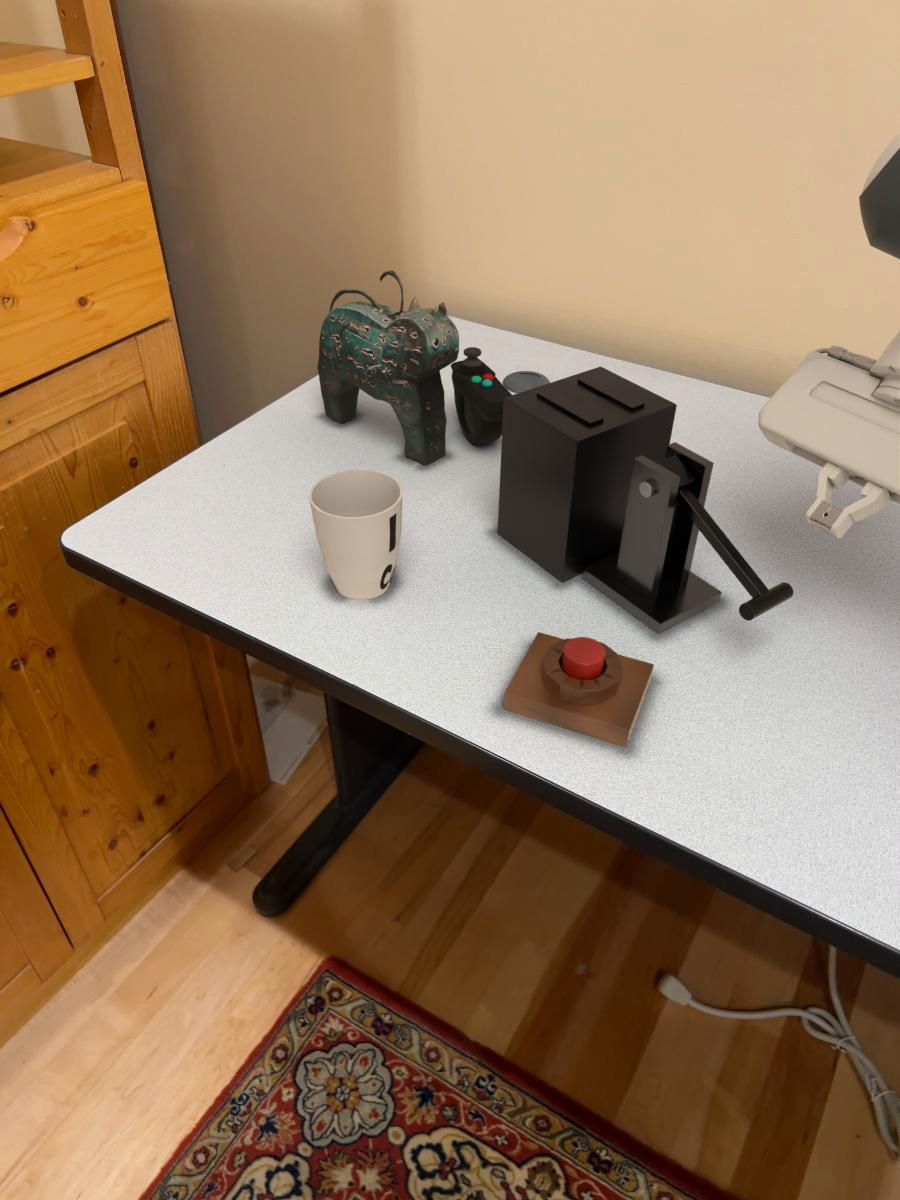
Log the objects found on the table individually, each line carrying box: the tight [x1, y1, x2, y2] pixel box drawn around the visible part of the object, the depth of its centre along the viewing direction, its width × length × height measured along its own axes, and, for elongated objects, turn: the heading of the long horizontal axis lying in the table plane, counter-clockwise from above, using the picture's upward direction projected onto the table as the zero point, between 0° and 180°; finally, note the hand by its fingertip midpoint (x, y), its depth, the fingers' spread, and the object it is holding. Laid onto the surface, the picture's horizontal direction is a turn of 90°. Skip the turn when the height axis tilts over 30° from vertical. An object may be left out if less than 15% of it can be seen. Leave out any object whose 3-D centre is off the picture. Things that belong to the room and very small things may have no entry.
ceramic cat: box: [317, 269, 460, 466], centre depth 99 cm, size 20×6×20 cm, turn 47°
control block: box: [503, 631, 655, 748], centre depth 71 cm, size 10×8×4 cm
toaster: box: [496, 366, 678, 584], centre depth 84 cm, size 10×12×15 cm
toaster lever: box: [657, 455, 794, 622], centre depth 73 cm, size 15×5×2 cm, turn 35°
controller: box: [450, 346, 513, 445], centre depth 101 cm, size 4×12×10 cm, turn 21°
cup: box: [308, 468, 403, 601], centre depth 80 cm, size 8×8×10 cm
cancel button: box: [562, 636, 605, 680], centre depth 69 cm, size 3×3×2 cm
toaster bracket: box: [581, 441, 722, 635], centre depth 78 cm, size 10×8×14 cm
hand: (821, 528), depth 70 cm, fingers closed
